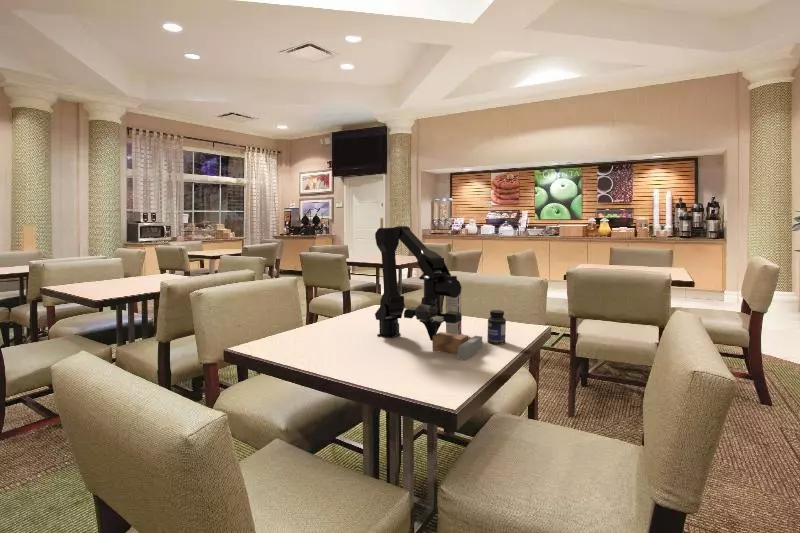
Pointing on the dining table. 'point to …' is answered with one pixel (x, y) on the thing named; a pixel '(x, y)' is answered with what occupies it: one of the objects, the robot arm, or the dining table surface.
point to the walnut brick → (448, 342)
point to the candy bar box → (455, 305)
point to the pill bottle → (496, 327)
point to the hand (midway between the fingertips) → (432, 340)
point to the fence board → (469, 347)
